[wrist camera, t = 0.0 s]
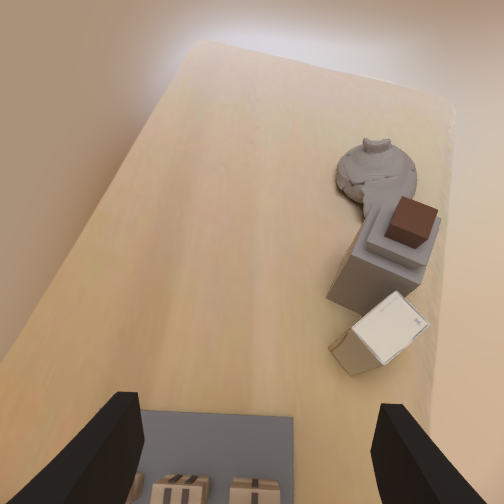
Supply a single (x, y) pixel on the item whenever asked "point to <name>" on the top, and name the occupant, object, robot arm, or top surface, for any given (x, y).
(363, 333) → the skincare box
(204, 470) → the mat
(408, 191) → the grey clay mound
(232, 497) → the tile one
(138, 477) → the tile three
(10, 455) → the top surface
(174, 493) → the tile two
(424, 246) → the perfume bottle
